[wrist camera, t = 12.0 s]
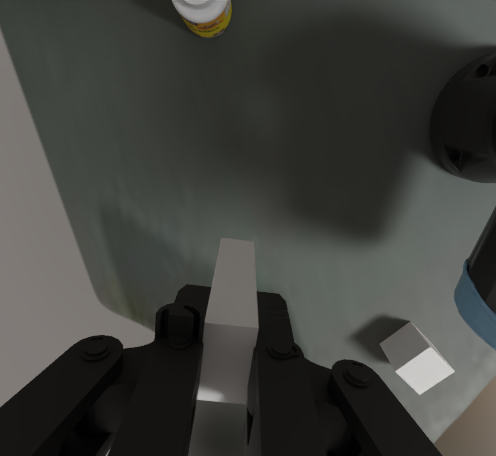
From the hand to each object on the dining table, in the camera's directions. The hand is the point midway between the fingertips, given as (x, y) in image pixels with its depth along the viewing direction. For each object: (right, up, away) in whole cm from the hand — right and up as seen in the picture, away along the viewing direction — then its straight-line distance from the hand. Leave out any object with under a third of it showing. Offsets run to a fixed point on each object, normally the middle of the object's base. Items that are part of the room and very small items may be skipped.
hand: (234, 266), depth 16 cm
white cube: (+26, -16, +37) cm, 48 cm away
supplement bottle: (-4, +26, +22) cm, 35 cm away
